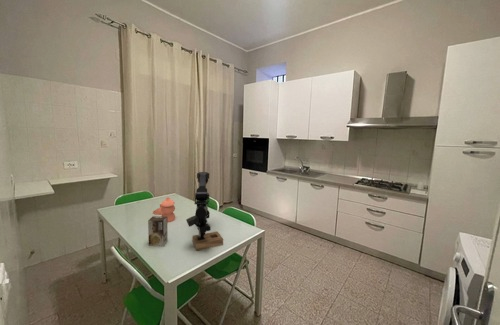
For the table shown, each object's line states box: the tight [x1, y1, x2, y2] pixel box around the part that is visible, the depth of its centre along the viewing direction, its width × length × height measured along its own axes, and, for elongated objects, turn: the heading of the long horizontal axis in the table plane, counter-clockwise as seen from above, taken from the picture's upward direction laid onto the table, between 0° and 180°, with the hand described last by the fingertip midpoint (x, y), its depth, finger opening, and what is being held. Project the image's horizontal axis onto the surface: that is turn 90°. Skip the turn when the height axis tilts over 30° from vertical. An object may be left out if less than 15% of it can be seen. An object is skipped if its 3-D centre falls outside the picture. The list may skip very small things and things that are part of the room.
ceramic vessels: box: [152, 197, 176, 223], centre depth 162 cm, size 35×21×19 cm, turn 38°
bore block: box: [191, 231, 224, 251], centre depth 124 cm, size 11×16×4 cm
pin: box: [197, 231, 204, 241], centre depth 121 cm, size 3×3×9 cm
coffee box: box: [147, 215, 169, 247], centre depth 120 cm, size 9×6×16 cm
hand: (201, 236), depth 122 cm, fingers closed on pin, 3 cm apart
